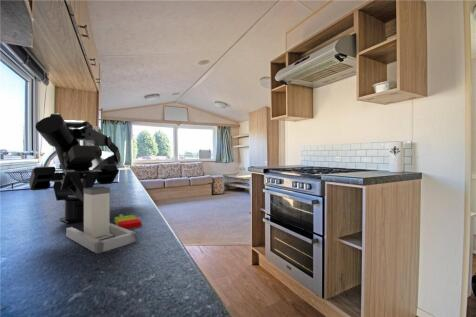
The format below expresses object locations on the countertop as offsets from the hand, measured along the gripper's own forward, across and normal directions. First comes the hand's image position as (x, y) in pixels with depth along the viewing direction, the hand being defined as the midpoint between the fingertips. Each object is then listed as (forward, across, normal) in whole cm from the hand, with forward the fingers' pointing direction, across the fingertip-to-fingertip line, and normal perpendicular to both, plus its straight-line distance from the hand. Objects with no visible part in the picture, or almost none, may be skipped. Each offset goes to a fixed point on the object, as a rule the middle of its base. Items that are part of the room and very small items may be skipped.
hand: (87, 201), depth 58 cm
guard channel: (+10, +1, +1) cm, 10 cm away
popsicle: (+4, +11, +8) cm, 15 cm away
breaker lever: (+8, +1, +2) cm, 8 cm away
